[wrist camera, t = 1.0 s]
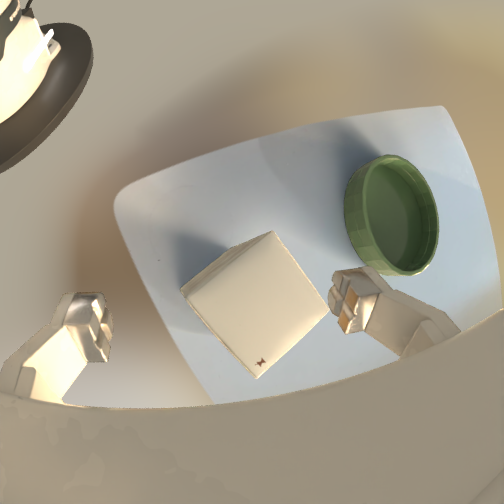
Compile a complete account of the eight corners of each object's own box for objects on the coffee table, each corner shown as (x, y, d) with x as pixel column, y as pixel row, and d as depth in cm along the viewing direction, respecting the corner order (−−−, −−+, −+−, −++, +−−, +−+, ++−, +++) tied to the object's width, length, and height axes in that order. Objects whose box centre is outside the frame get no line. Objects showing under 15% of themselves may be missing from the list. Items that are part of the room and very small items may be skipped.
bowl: (321, 201, 34) (338, 193, 30) (383, 146, 38) (399, 137, 34) (385, 300, 36) (405, 302, 32) (432, 230, 41) (449, 227, 37)
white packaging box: (270, 298, 31) (334, 312, 19) (219, 340, 29) (255, 383, 17) (231, 245, 30) (275, 226, 18) (176, 287, 28) (182, 299, 16)
